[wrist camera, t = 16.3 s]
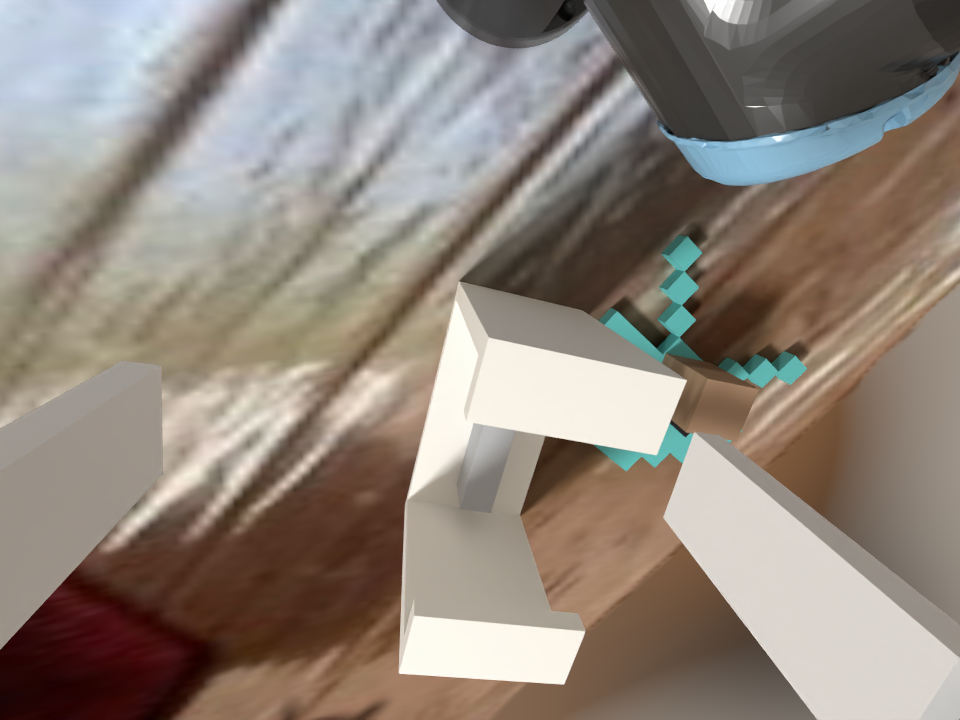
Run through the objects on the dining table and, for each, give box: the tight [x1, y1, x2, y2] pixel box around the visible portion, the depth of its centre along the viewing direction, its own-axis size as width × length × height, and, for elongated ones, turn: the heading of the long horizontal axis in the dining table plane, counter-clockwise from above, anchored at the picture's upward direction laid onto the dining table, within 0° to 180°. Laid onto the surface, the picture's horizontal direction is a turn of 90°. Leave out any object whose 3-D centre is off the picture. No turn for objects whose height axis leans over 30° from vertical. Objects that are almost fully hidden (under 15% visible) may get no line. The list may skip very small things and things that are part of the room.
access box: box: [399, 281, 687, 684], centre depth 38 cm, size 24×12×18 cm, turn 166°
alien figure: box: [593, 235, 807, 471], centre depth 48 cm, size 20×2×20 cm
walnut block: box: [662, 353, 759, 441], centre depth 44 cm, size 5×5×7 cm
